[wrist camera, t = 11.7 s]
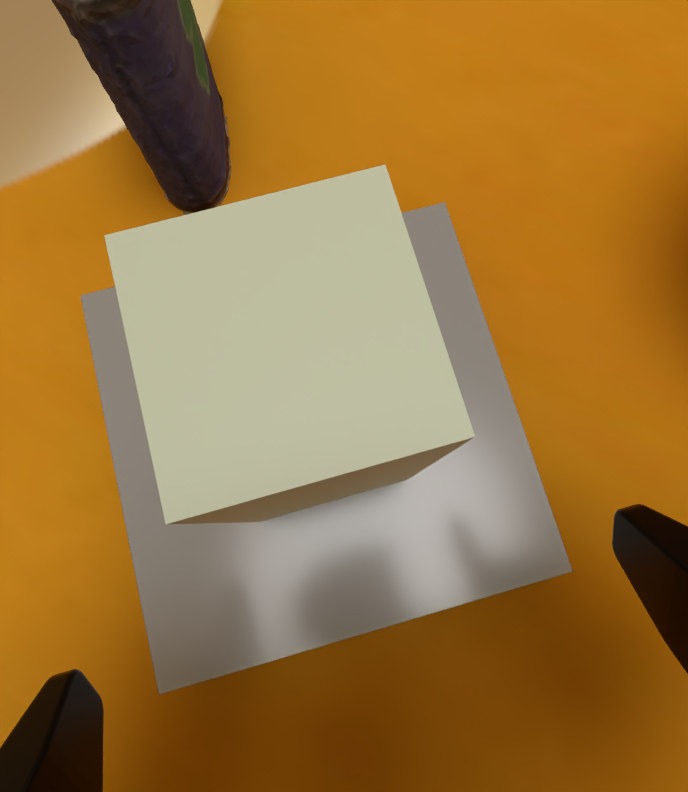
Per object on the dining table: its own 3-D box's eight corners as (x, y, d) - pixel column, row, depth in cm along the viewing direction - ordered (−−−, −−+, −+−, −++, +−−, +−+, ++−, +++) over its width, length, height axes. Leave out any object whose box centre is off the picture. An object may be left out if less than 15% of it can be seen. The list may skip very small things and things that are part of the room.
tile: (548, 566, 19) (572, 571, 17) (179, 675, 18) (158, 694, 16) (435, 231, 21) (444, 202, 19) (105, 317, 20) (80, 295, 18)
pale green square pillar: (407, 479, 17) (475, 436, 8) (258, 522, 17) (165, 525, 8) (365, 338, 18) (385, 164, 9) (223, 376, 18) (104, 235, 9)
